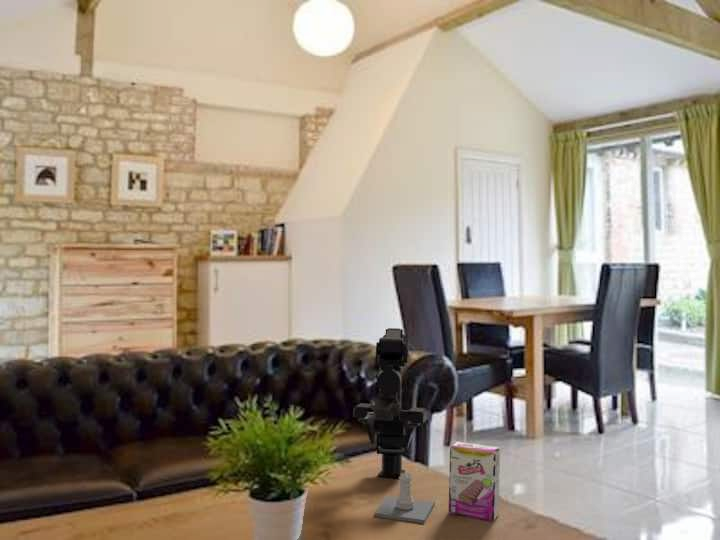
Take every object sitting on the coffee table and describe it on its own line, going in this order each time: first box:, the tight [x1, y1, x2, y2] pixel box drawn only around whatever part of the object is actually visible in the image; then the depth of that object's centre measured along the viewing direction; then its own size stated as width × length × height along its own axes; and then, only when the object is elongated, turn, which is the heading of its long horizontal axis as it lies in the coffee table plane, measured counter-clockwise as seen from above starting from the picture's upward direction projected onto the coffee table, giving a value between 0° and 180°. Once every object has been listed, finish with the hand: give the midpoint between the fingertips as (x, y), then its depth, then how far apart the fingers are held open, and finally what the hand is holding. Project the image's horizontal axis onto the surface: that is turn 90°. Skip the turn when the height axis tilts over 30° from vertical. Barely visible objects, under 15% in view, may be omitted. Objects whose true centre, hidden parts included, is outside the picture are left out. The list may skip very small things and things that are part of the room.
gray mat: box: [373, 495, 435, 524], centre depth 151 cm, size 12×12×1 cm
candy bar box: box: [448, 440, 501, 522], centre depth 149 cm, size 11×5×16 cm, turn 65°
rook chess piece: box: [396, 471, 414, 510], centre depth 151 cm, size 4×4×8 cm
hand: (389, 446), depth 164 cm, fingers open, 9 cm apart
